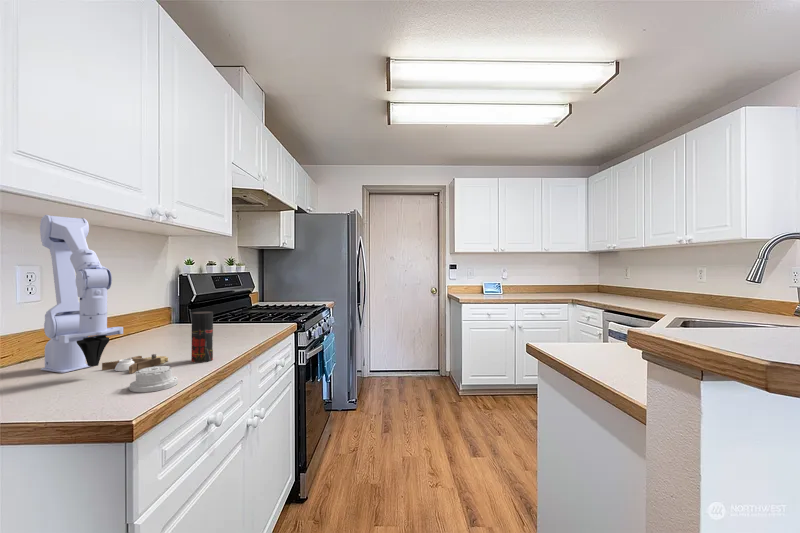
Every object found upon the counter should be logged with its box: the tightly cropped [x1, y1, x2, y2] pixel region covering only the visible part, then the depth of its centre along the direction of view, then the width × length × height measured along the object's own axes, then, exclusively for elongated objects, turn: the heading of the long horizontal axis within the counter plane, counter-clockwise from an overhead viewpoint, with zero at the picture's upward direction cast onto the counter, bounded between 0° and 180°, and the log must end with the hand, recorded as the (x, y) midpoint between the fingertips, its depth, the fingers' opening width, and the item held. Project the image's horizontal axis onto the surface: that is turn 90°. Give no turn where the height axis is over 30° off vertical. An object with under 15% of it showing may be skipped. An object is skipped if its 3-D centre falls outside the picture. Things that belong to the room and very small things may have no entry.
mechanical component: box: [129, 365, 179, 393], centre depth 94 cm, size 10×4×10 cm
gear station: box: [101, 353, 169, 375], centre depth 114 cm, size 12×15×2 cm
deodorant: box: [191, 311, 214, 364], centre depth 120 cm, size 6×6×15 cm
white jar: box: [114, 358, 134, 372], centre depth 109 cm, size 5×3×5 cm
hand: (93, 365), depth 101 cm, fingers closed
